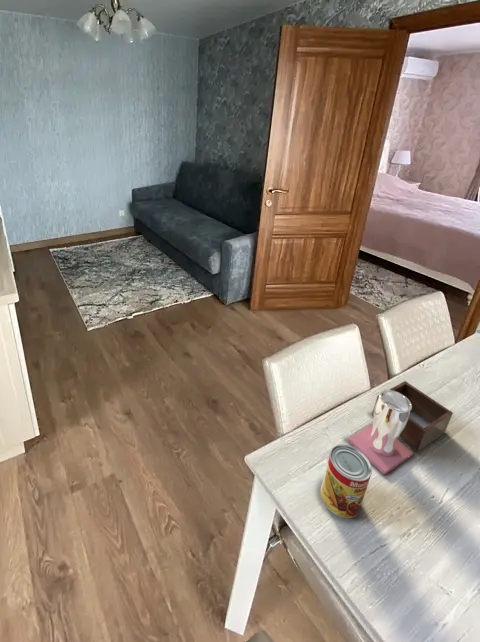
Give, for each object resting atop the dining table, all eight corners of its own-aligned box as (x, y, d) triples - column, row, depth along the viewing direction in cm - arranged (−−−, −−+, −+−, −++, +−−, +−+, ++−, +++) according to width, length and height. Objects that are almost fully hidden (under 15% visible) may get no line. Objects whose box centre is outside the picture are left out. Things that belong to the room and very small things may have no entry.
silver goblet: (367, 428, 91) (380, 384, 85) (397, 442, 87) (413, 397, 82) (363, 448, 86) (377, 403, 80) (395, 463, 82) (412, 417, 76)
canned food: (352, 527, 71) (365, 489, 66) (314, 499, 75) (324, 462, 71) (364, 497, 76) (376, 460, 71) (328, 473, 81) (337, 437, 76)
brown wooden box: (398, 399, 102) (405, 380, 99) (444, 432, 91) (453, 412, 89) (371, 414, 96) (377, 395, 94) (417, 451, 86) (425, 431, 84)
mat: (374, 424, 93) (375, 421, 93) (412, 455, 85) (413, 452, 85) (347, 440, 89) (348, 438, 88) (384, 475, 81) (385, 472, 80)
